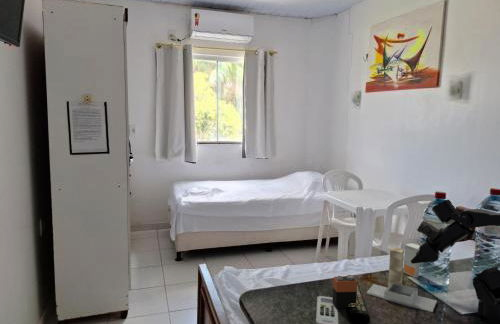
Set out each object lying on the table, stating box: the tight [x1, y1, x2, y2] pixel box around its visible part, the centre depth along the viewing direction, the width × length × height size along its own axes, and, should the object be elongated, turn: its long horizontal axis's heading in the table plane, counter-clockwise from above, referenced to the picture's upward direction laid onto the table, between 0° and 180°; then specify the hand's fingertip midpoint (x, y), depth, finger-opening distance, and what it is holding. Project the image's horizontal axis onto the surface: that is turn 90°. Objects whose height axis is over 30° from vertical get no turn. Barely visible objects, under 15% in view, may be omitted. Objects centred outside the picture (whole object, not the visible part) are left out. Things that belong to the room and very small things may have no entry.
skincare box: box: [403, 243, 421, 278], centre depth 143 cm, size 6×4×12 cm
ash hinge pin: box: [387, 247, 405, 287], centre depth 132 cm, size 4×4×14 cm
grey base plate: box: [366, 282, 437, 313], centre depth 122 cm, size 21×9×3 cm, turn 54°
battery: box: [331, 274, 358, 309], centre depth 116 cm, size 4×7×10 cm, turn 95°
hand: (414, 258), depth 128 cm, fingers open, 9 cm apart
